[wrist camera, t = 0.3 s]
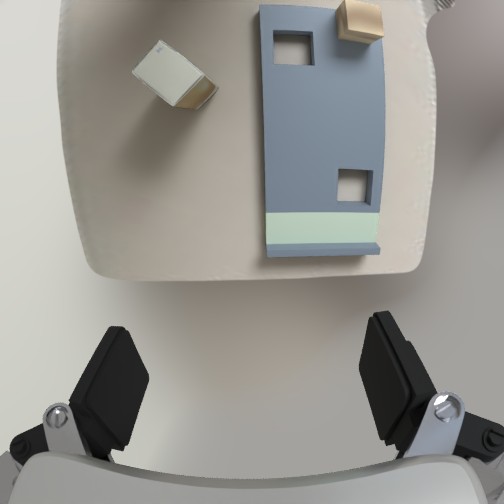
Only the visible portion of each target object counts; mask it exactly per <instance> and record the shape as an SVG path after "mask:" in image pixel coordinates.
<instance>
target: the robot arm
mask: <svg viewBox="0 0 504 504" xmlns="http://www.w3.org/2000/svg"><path fill="white" fill-rule="evenodd" d="M359 372H360V375H361V378H362V381H363V385H364V387H365V391H366V394H367V397H368V400H369V404H370V407H371V410H372V414H373V417H374V420H375V424H376V427H377V431H378V435H379V438H380V440H385V444H386V446H388V445H392V444H395V446H396V449H397V450H398V452H397V453H396V455H395V457H394V459H393V460H392V461H388V462H383V463H379V464H375V465H370V466H366V467H360V468H356V469H350V470H344V471H338V472H332V473H326V474H318V475H310V476H300V477H289V478H272V479H222V478H205V477H194V476H184V475H176V474H168V473H162V472H155V471H150V470H144V469H139V468H134V467H130V466H125V465H120V464H116V463H115V462H114V460H113V458H112V456H111V454H110V452H111V449H115V450H120V451H124V447H125V446H126V445H128V444H129V441H130V438H131V435H132V431H133V428H134V424H135V422H136V419H137V415H138V412H139V409H140V406H141V403H142V400H143V397H144V394H145V391H146V388H147V385H148V382H149V374H148V372H147V370H146V368H145V366H144V364H143V362H142V360H141V358H140V355H139V353H138V351H137V349H136V347H135V345H134V342H133V340H132V338H131V335H130V333H129V331H127V330H125V328H124V327H120V326H111V327H109V328H108V330H107V331H106V333H105V335H104V336H103V338H102V340H101V342H100V343H99V345H98V347H97V349H96V350H95V352H94V354H93V356H92V358H91V360H90V361H89V363H88V365H87V367H86V368H85V370H84V372H83V374H82V376H81V378H80V380H79V381H78V383H77V385H76V387H75V389H74V391H73V393H72V395H71V397H70V399H69V401H70V403H69V405H67V404H64V403H55V404H53V405H51V406H50V407H49V408H48V409H46V411H45V413H44V415H43V423H42V424H40V425H38V426H36V427H34V428H32V429H30V430H28V431H25V432H23V433H21V434H19V435H17V436H16V437H14V439H13V440H12V442H11V444H10V452H8V451H6V452H5V453H3V454H2V455H1V456H0V504H504V427H503V426H502V425H500V424H498V423H495V422H492V421H489V420H487V419H484V418H481V417H479V416H476V415H473V414H471V413H468V412H465V406H464V403H463V401H462V399H461V398H460V397H459V396H458V395H456V394H454V393H452V392H440V393H437V391H436V389H435V387H434V385H433V383H432V381H431V379H430V377H429V375H428V373H427V371H426V369H425V367H424V365H423V363H422V361H421V360H420V358H419V356H418V354H417V352H416V350H415V349H414V347H413V345H412V344H411V342H410V341H406V340H405V338H404V336H403V335H402V333H401V331H400V329H399V327H398V325H397V324H396V322H395V320H394V318H393V317H392V315H391V313H390V312H389V311H383V312H376V313H374V314H373V317H370V318H369V320H368V325H367V330H366V335H365V340H364V345H363V349H362V354H361V358H360V362H359Z"/></svg>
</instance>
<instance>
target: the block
mask: <svg viewBox="0 0 504 504" xmlns="http://www.w3.org/2000/svg"><path fill="white" fill-rule="evenodd" d="M336 20H337V31H338V39H342V40H349V41H355V42H362V43H367V44H372V43H373V42H375V41H377V40H379V39H380V38H382V37H384V30H383V22H382V14H381V8H380V6H377V5H373V4H369V3H364V2H359V1H354V0H344V1H343V2H342V3H341V5H340V6H339V7H338V9H337V10H336Z"/></svg>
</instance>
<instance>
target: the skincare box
mask: <svg viewBox="0 0 504 504" xmlns="http://www.w3.org/2000/svg"><path fill="white" fill-rule="evenodd" d="M132 73H133V74H134V75H135V76H136V77H137V78H138V79H139V80H140V81H141V82H143V83H144V84H145V85H146V86H147V87H149V88H150V89H151V90H152V91H153V92H155V93H156V94H157V95H158V96H160V97H161V98H162V99H164V100H165V101H166V102H167V103H169V104H170V105H171V106H174V107H181V108H188V109H194V110H198V109H199V108H200V107H201V106H202V105H203V104H204V103H205V102H206V101H207V100H208V99H209V98H210V97H211V96H212V95H213V94H214V93H215V92H216V91H217V90H218V86H217V85H216V84H215V83H214V82H213V81H212V80H210V79H209V78H208V77H207V76H206V75H205V74H204V73H203V72H202V71H201V70H199V69H198V68H197V67H196V66H195V65H193V64H192V63H191V62H190V61H188V60H187V59H186V58H185V57H183V56H182V55H181V54H179V53H178V52H177V51H175V50H174V49H173V48H171V47H170V46H169V45H167V44H166V43H165V42H163V41H162V40H159V41H158V42H157V43H156V44H155V45H154V46H153V47H152V48H151V49H150V50H149V51H148V52H147V54H146V55H145V56H144V57H143V58H142V59H141V60H140V61H139V62H138V64H137V65H136V66H135V68H134V69H133V70H132Z"/></svg>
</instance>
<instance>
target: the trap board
mask: <svg viewBox="0 0 504 504" xmlns="http://www.w3.org/2000/svg"><path fill="white" fill-rule="evenodd" d="M259 14H260V36H261V61H262V89H263V121H264V159H265V210H266V252H267V257H302V256H343V255H379V254H380V247H379V246H378V245H377V244H376V235H377V228H378V220H379V212H380V202H381V192H382V181H383V167H384V149H385V76H384V59H383V46H382V38H380V39H379V40H377V41H375V42H373V43H372V44H367V43H362V42H355V41H349V40H342V39H338V31H337V20H336V10H335V9H328V8H319V7H308V6H293V5H259ZM273 34H285V35H306V36H310V42H311V60H312V66H311V65H288V64H274V44H273ZM338 169H359V170H368V179H367V192H366V202H351V201H337V191H338Z"/></svg>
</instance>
